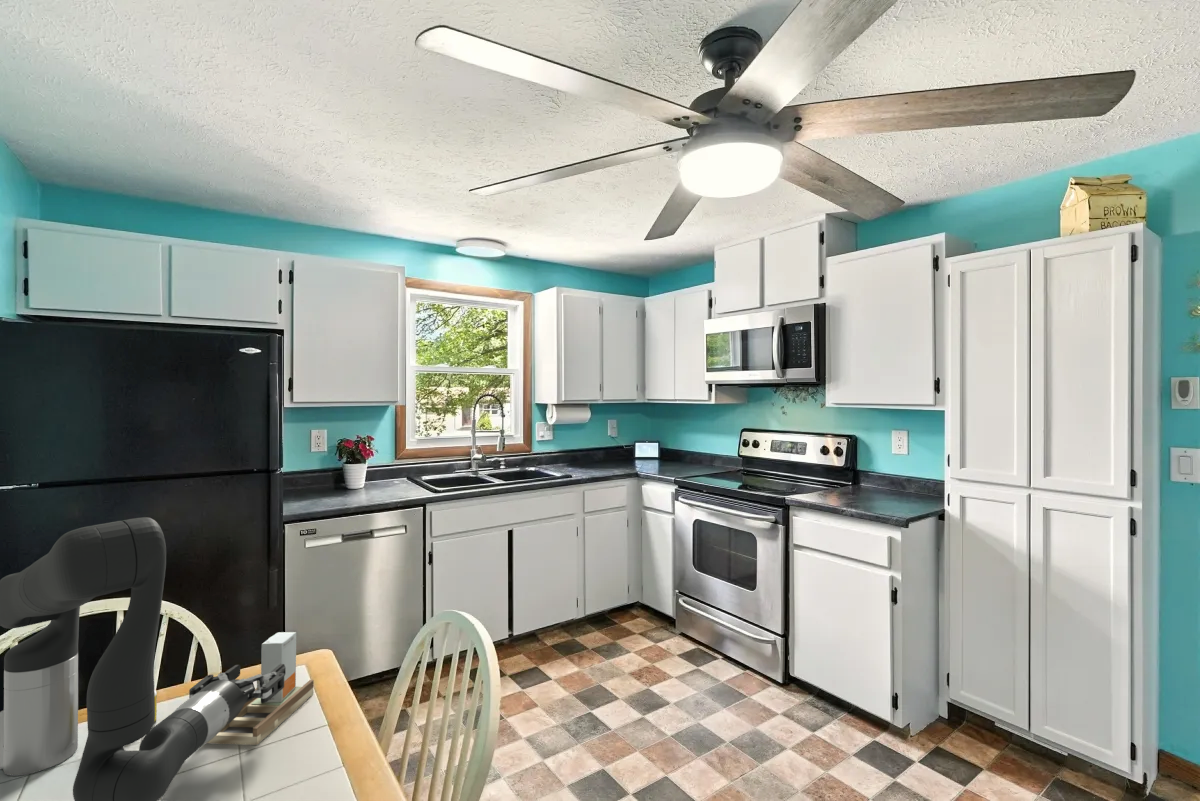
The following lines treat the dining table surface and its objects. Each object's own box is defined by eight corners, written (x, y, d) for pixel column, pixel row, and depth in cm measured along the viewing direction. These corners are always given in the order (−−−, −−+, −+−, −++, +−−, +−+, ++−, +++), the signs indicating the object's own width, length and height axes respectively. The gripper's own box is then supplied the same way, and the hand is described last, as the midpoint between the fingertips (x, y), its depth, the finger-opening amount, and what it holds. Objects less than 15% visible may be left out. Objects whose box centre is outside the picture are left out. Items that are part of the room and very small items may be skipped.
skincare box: (281, 703, 113) (281, 643, 113) (260, 703, 113) (260, 644, 113) (297, 687, 119) (297, 631, 119) (276, 688, 119) (276, 631, 119)
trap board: (204, 743, 103) (204, 726, 103) (268, 692, 120) (268, 678, 121) (256, 745, 102) (257, 728, 102) (313, 694, 120) (313, 680, 120)
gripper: (248, 691, 94) (297, 649, 110) (161, 693, 93) (223, 650, 110) (248, 736, 94) (297, 687, 110) (161, 738, 93) (223, 689, 110)
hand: (260, 669), depth 110 cm, fingers open, 8 cm apart
